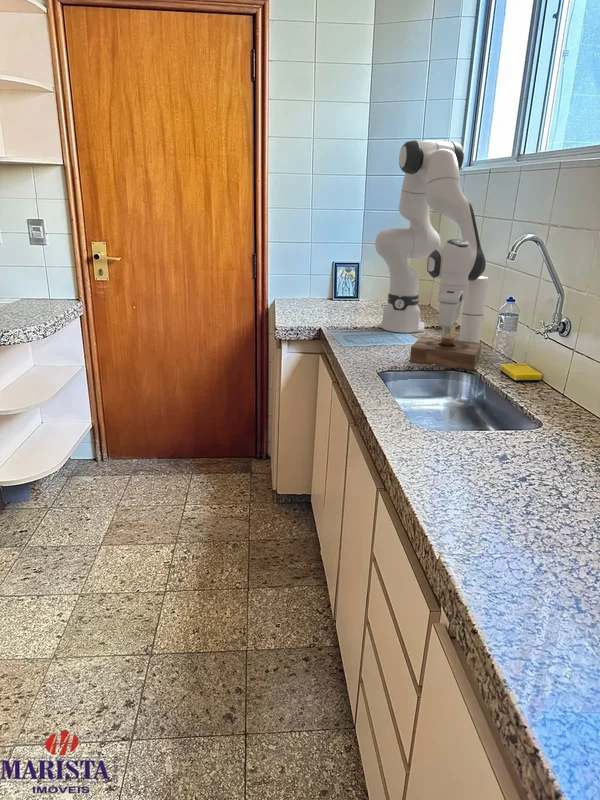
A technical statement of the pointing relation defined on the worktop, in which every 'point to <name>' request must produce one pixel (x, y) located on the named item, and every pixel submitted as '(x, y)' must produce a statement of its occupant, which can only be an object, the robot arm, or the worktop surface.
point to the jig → (445, 353)
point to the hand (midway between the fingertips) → (448, 336)
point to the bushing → (450, 340)
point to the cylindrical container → (473, 310)
